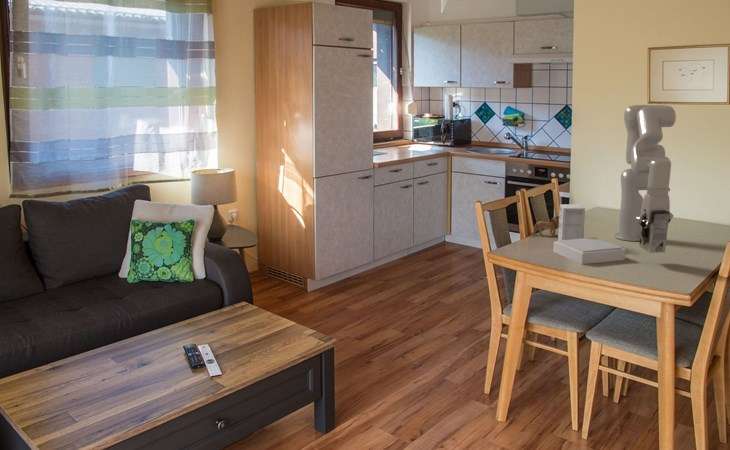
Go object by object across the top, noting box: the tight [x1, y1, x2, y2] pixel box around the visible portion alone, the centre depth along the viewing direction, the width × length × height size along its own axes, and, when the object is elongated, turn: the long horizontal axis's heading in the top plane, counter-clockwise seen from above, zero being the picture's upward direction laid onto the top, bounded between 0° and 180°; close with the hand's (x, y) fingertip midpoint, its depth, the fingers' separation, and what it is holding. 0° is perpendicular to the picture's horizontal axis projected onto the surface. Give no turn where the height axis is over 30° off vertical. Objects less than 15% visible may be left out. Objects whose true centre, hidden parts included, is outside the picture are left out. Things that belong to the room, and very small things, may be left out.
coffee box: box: [638, 211, 671, 254], centre depth 257 cm, size 9×6×16 cm
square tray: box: [552, 236, 626, 265], centre depth 271 cm, size 20×20×5 cm
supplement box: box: [557, 203, 586, 241], centre depth 290 cm, size 10×9×17 cm
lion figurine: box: [531, 215, 559, 237], centre depth 307 cm, size 15×5×9 cm, turn 103°
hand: (653, 236), depth 258 cm, fingers closed on coffee box, 7 cm apart
